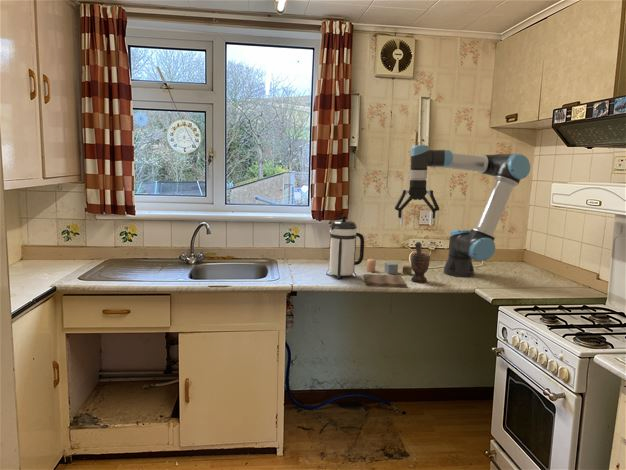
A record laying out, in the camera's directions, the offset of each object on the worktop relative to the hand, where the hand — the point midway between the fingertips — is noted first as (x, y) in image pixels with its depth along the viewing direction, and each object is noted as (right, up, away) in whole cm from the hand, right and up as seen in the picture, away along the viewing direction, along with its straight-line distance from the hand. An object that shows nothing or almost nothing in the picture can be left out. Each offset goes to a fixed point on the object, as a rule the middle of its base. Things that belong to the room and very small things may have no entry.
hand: (416, 225), depth 211 cm
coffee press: (-33, -25, +11) cm, 43 cm away
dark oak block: (0, -24, +20) cm, 31 cm away
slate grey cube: (-8, -24, +21) cm, 33 cm away
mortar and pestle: (+3, -27, +5) cm, 28 cm away
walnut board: (-14, -27, +2) cm, 30 cm away
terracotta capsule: (-18, -23, +23) cm, 37 cm away
